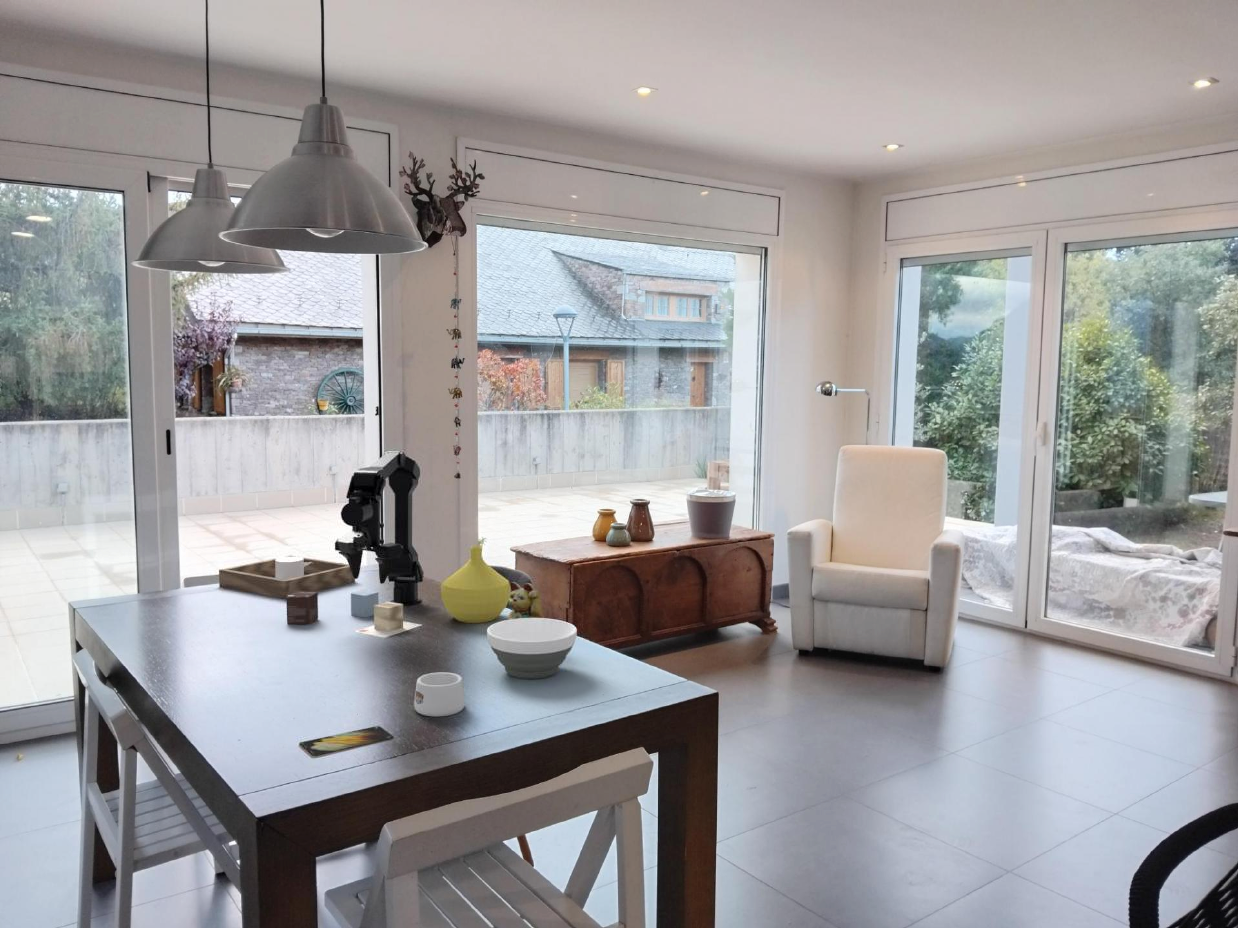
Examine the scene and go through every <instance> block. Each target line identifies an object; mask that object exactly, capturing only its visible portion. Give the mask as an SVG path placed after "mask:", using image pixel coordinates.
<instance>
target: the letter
mask: <svg viewBox="0 0 1238 928" xmlns="http://www.w3.org/2000/svg"><path fill="white" fill-rule="evenodd" d="M421 626H423V624H420V623H414V622H410V621H409V622H408V621H404V620H403V628H400V629H397V630H394V631H391V632H387V631H382V630H377V629H374V625H370V626H367V627H364V628H361V629H358V630H355V631H353V632H354V633H359V634H363V635H368V636H373V637H378V638H383V639H385V638H388V637H390V636H394V635H397V634H400V633H404V632H406V631H410V630H412V629H414V628H415V629H416V628H418V627H421Z"/></svg>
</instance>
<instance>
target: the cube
mask: <svg viewBox="0 0 1238 928" xmlns="http://www.w3.org/2000/svg"><path fill="white" fill-rule="evenodd" d="M378 604H380V603H379V592H378V591H372V590H368V589H363V590H359V591H356V592H351V593H350V615H351V616H354V617H361V618H368V617H371V616H374V606H375V605H378Z"/></svg>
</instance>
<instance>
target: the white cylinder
mask: <svg viewBox="0 0 1238 928" xmlns="http://www.w3.org/2000/svg"><path fill="white" fill-rule="evenodd" d="M304 558H305V557H304ZM304 558H302V556H297V557H286V556H282V557H277V559H276V558H274V559H275V577H274V578H278V579H284V580H287V579H291V578H296V577H300V576H305V574H304V567H305V566H307V565H309V564H310V563H312V562H308V563H307V562H306V563H304Z"/></svg>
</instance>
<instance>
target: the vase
mask: <svg viewBox="0 0 1238 928" xmlns="http://www.w3.org/2000/svg"><path fill="white" fill-rule="evenodd" d="M482 548H483V547H482V546H479V545H477V546H475V545H474V546H471V547H470V555H469V556H470V557H469V560H467V562H466V563H465V564H464V565H463V566H462V567H461V568H459V569H457V570H456V571H455V572H454V573H453V574H451V575H450V576H449V577H447V578H446V579H444V581H442V583H441V586H440V596H441V600H442V602H443V605H444V608H445V610H446V611H448V613H449V615H450V616H451V617H453V618H454V619H456V620H457V621H459V622H462V623H466V624H467V623H468V624H480V623H481V624H482V623H488V622H492V621H494V620H496V619H497V618H498V617H499V616H500V615H501V614H502V613H503V612H504V610H505V609H506V607H507V606H508V604H509V602H508V599H509V596H510V594H511V592H512V590H511V587H510V581H509V580H508V579H507V578H506V577H504V576H503V575H501V573H499V572H497V571H496V570H495V569H494V568H492V567H491V566H490V565H489V564H487V563H486V562H485V560H484V559H483V553H482V552H483V549H482Z"/></svg>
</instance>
